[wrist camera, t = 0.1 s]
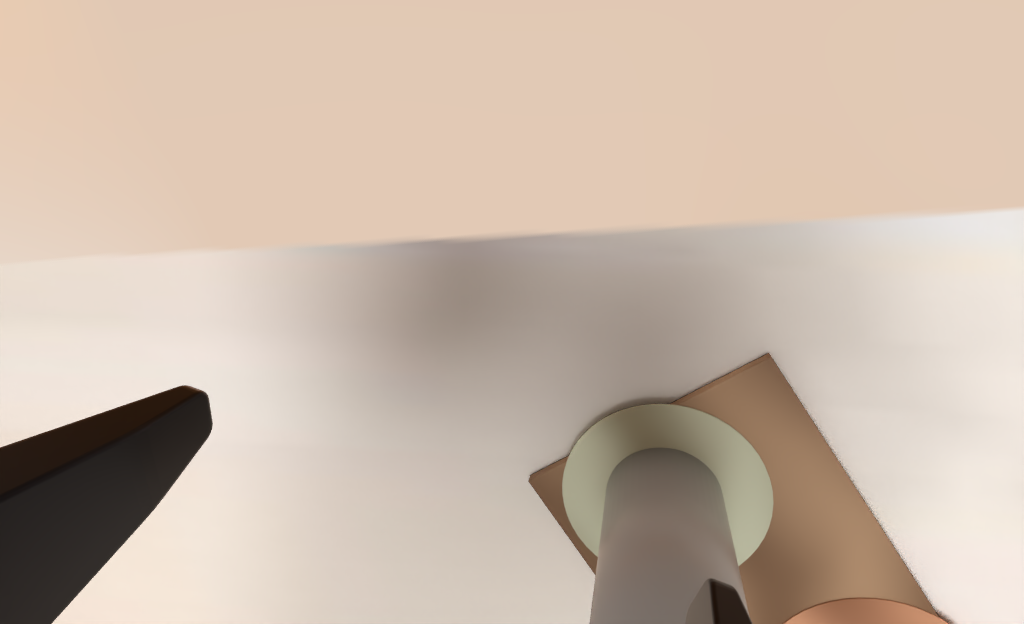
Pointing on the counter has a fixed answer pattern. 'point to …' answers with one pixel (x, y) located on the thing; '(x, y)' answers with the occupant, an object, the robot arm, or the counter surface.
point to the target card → (754, 500)
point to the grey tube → (661, 539)
